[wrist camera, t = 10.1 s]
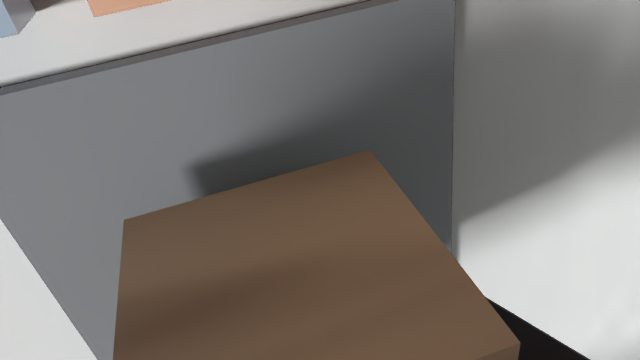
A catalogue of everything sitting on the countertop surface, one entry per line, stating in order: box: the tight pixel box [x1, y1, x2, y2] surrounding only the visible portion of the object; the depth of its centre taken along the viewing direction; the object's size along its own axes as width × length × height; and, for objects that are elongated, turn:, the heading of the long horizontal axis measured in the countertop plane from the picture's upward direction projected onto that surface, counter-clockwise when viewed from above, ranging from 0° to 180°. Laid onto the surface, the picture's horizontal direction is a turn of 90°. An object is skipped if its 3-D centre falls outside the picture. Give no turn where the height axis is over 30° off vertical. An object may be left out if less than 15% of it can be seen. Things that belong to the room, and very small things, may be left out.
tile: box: [0, 0, 455, 360], centre depth 11 cm, size 9×9×1 cm
